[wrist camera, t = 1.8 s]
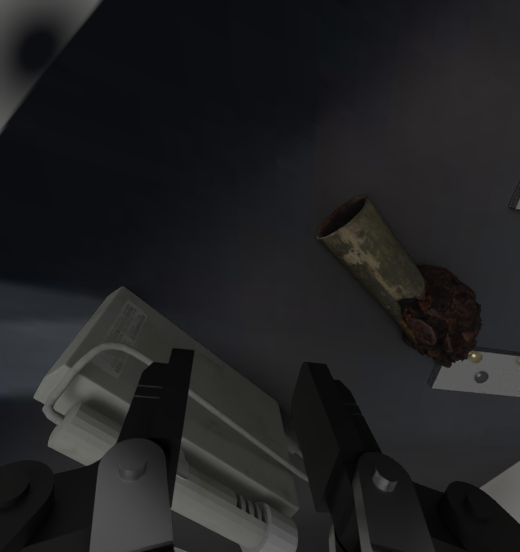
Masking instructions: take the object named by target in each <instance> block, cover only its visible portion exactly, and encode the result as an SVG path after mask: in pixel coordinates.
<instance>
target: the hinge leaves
mask: <svg viewBox="0 0 520 552" xmlns="http://www.w3.org/2000/svg"><path fill="white" fill-rule="evenodd" d="M508 207H510V208H515V209H520V182H519V184H518V186H517V188H516V191H515V193H514V195H513V197H512V199H511V202H510V204H509V206H508ZM428 384H429V386H430V387H431V388H435V389H445V390H455V391H466V392H476V393H486V394H496V395H507V396H517V397H520V353H518V352H510V351H502V350H494V349H486V348H478V347H475V348H474V349H473V350H472V351H471V352H469V356H468V359H467V360H466V359H465V360H463V362H462V361H461V360H459V361H456V363H453V362H452V366H451V367H450V368H446V367H444V366H442V365H438V364H436V365H435V367H434V370H433V372H432V374H431V376H430V378H429V381H428Z"/></svg>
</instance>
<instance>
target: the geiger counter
mask: <svg viewBox="0 0 520 552" xmlns="http://www.w3.org/2000/svg"><path fill="white" fill-rule="evenodd" d="M172 348H179V349H189V350H195V351H194V358H193V365H192V372H191V379H190V386H189V393H188V399H187V406H186V413H185V420H184V427H183V433H182V440H181V447H180V454H179V461H178V467H177V474H176V481H175V488H174V494H173V501H172V508H170V509H172V510H173V511H175V512H177V513H179V514H181V515H183V516H185V517H187V518H189V519H191V520H193V521H195V522H197V523H199V524H201V525H203V526H205V527H207V528H209V529H211V530H213V531H214V532H216V533H218V534H220V535H222V536H224V537H226V538H228V539H230V540H232V541H234V542H236V543H238V544H240V547H241V549H242V551H243V552H296V549H297V543H298V532H297V528H296V525H295V523H294V521H293V520H292V519H291V517H292V516H293V515H294V514H295V513H296V512H297V511H298V510H299V504H298V499H297V494H296V489H295V484H294V479H293V474H292V472H293V473H295V474H296V475H297V476H299V477H301V478H302V479H304V480H305V481H307V482H309V481H308V477H307V475H306V474H305V473H303V472H302V471H300V470H299V469H298V468H296V467H295V466H294V465H292V464H291V463H290V459H289V454H288V451H289V452H290V453H292V454H293V453H295V452H296V453H297V454H298V455H300V456H301V457H302V453H301V450H300V449H298V445H297V444H296V443H295V442H293V441H292V440H291V438H290V437H289V436H288V435H286V434H285V433H284V429H283V424H282V419H281V414H280V409H279V404H278V402H277V401H275V400H274V399H273V398H271V397H270V396H269V395H267V394H266V393H265V392H263V391H262V390H261V389H259V388H258V387H257V386H256V385H254V384H253V383H252V382H250V381H249V380H248V379H246V378H245V377H244V376H242V375H241V374H240V373H238V372H237V371H236V370H234V369H233V368H232V367H230V366H229V365H228V364H226V363H225V362H224V361H222V360H221V359H220V358H218V357H217V356H216V355H214V354H213V353H212V352H210V351H209V350H208V349H206V348H205V347H204V346H202V345H201V344H200V343H198V342H197V341H196V340H194V339H193V338H192V337H191V336H189V335H188V334H187V333H185V332H184V331H183V330H181V329H180V328H179V327H177V326H176V325H175V324H173V323H172V322H171V321H169V320H168V319H167V318H165V317H164V316H163V315H161V314H160V313H159V312H157V311H156V310H155V309H153V308H152V307H151V306H149V305H148V304H147V303H145V302H144V301H143V300H141V299H140V298H139V297H137V296H136V295H135V294H133V293H132V292H131V291H130V290H128V289H127V288H126V287H124V286H122V287H120V288H119V289H117V290H116V291H114V292H113V293H111V294H110V295H108V297H107V298H106V299H105V300H104V302H103V303H102V304H101V306H100V307H99V308H98V309H97V311H96V312H95V313H94V315H93V316H92V317H91V318H90V320H89V321H88V322H87V323H86V325H85V326H84V327H83V329H82V330H81V331H80V332H79V334H78V335H77V336H76V337H75V339H74V340H73V341H72V343H71V344H70V345H69V346H68V348H67V349H66V350H65V352H64V353H63V354H62V355H61V357H60V358H59V359H58V360H57V362H56V363H55V364H54V366H53V367H52V368H51V369H50V371H49V372H48V373H47V375H46V376H45V377H44V379H43V381H42V382H41V384H40V386H39V388H38V390H37V391H36V393H35V395H34V399H36V400H38V401H40V402H41V403H43V404H45V405H44V407H43V409H42V410H43V412H44V413H45V415H46V417H47V418H48V419H49V420H51V421H52V422H54V423H55V424H57V426H56V427H55V429H54V430H53V432H52V434H51V435H50V438H49V441H48V446H49V447H51V448H53V449H54V450H56V451H58V452H60V453H62V454H64V455H66V456H68V457H70V458H72V459H74V460H76V461H78V462H80V463H82V464H84V465H86V466H88V465H90V464H93V463H94V462H96V461H98V460H100V459H101V458H102V457H103V456H104V454H105V453H106V452H107V451H108V450H109V449H110V448H111V447H113V446H114V445H115V444H116V442H117V440H118V437H119V434H120V432H121V429H122V426H123V424H124V421H125V418H126V415H127V413H128V410H129V407H130V404H131V402H132V399H133V397H134V393H135V391H136V388H137V386H138V383H139V380H140V377H141V374H142V372H143V371H144V370H145V369H146V368H147V367H148V366H149V365H150V364H151V363H152V362H159V363H169V359H170V355H171V351H172ZM55 410H56V411H55ZM57 411H58V412H59V413H61V414H63V415H64V416H62V415H61V414H59V413H58V412H57ZM302 458H303V457H302Z"/></svg>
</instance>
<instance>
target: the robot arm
mask: <svg viewBox="0 0 520 552" xmlns="http://www.w3.org/2000/svg"><path fill="white" fill-rule="evenodd" d="M194 351H195V350H189V349H179V348H172V351H171V355H170V359H169V363H159V362H152V363H151V364H150V365H149V366H148V367H147V368H146V369H145V370H144V371H143V372H142V374H141V377H140V380H139V383H138V386H137V388H136V391H135V393H134V397H133V399H132V402H131V404H130V407H129V410H128V413H127V415H126V418H125V421H124V424H123V426H122V429H121V432H120V434H119V437H118V440H117V442H116V444H115V445H114V446H113V447H111V448H110V449H109V450H108V451H107V452H106V453H105V454H104V456H103V457H102V458H101V459H100V460H98V461H96V462H94V463H93V464H90V465H88V466H85V467H82V468H79V469H74V470H70V471H66V472H62V473H57V474H53V472H52V471H51V469H50V468H49V467H48V466H47V465H46V464H44V463H42V462H39V461H33V460H24V461H17V462H14V463H10V464H7V465H5V466H2V467H0V552H175V550H174V545H173V536H172V525H171V514H170V508H172V501H173V494H174V488H175V481H176V474H177V467H178V461H179V454H180V447H181V440H182V433H183V427H184V420H185V413H186V406H187V399H188V393H189V386H190V379H191V372H192V365H193V358H194ZM292 417H293V421H294V425H295V429H296V433H297V437H298V441H299V445H300V449H301V453H302V457H303V461H304V465H305V469H306V473H307V477H308V481H309V485H310V489H311V493H312V497H313V501H314V505H315V509H316V512H329V513H330V514H331V517H332V521H333V524H332V526H331V529H330V532H329V548H330V552H520V524H519V523H518V522H517V521H516V520H515V519H514V518H513V517H511V516H510V514H508V513H507V512H506V511H505V510H504V509H503V508H502V507H501V506H500V505H499V504H498V503H497V502H496V501H495V500H494V499H492V498H491V497H490V496H489V495H488V494H486V493H485V492H484V491H482V490H481V489H479V488H477V487H475V486H473V485H471V484H469V483H465V482H460V481H456V482H452V483H451V484H449V486H448V487H447V489H446V491H445V493H442V492H440V491H437V490H434V489H431V488H428V487H425V486H423V485H420V484H417V483H415V482H412V480H411V478H410V476H409V474H408V473H407V472H406V470H405V469H404V468H403V467H402V466H401V465H400V464H399V463H398V462H396V461H395V460H394V459H392V458H390V457H389V456H387V455H384V454H382V452H381V450H380V448H379V446H378V444H377V442H376V440H375V438H374V436H373V434H372V432H371V431H370V429H369V427H368V425H367V423H366V421H365V419H364V417H363V416H362V413H361V411H360V409H359V407H358V406H357V405H356V401H355V399H354V397H353V395H352V393H351V392H350V390H349V389H348V388H347V387H346V386H345V385H344V384H343V383H342V382H341V381H340V380H333V378H332V376H331V373H330V371H329V369H328V367H327V365H326V364H320V363H311V362H304V363H303V364H302V366H301V369H300V373H299V376H298V380H297V383H296V387H295V390H294V394H293V398H292Z"/></svg>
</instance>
